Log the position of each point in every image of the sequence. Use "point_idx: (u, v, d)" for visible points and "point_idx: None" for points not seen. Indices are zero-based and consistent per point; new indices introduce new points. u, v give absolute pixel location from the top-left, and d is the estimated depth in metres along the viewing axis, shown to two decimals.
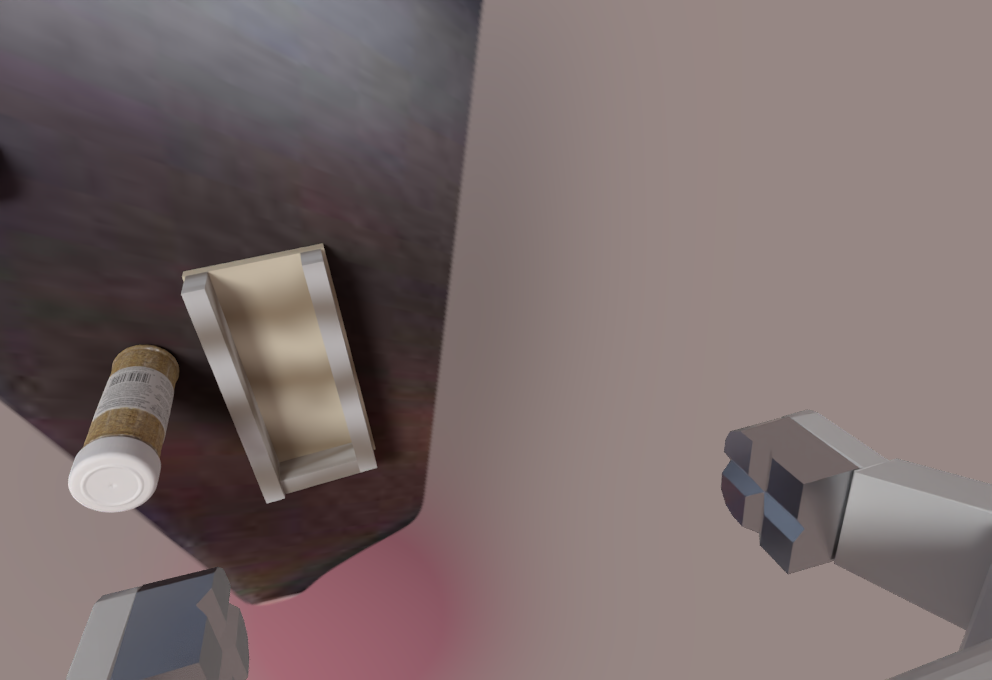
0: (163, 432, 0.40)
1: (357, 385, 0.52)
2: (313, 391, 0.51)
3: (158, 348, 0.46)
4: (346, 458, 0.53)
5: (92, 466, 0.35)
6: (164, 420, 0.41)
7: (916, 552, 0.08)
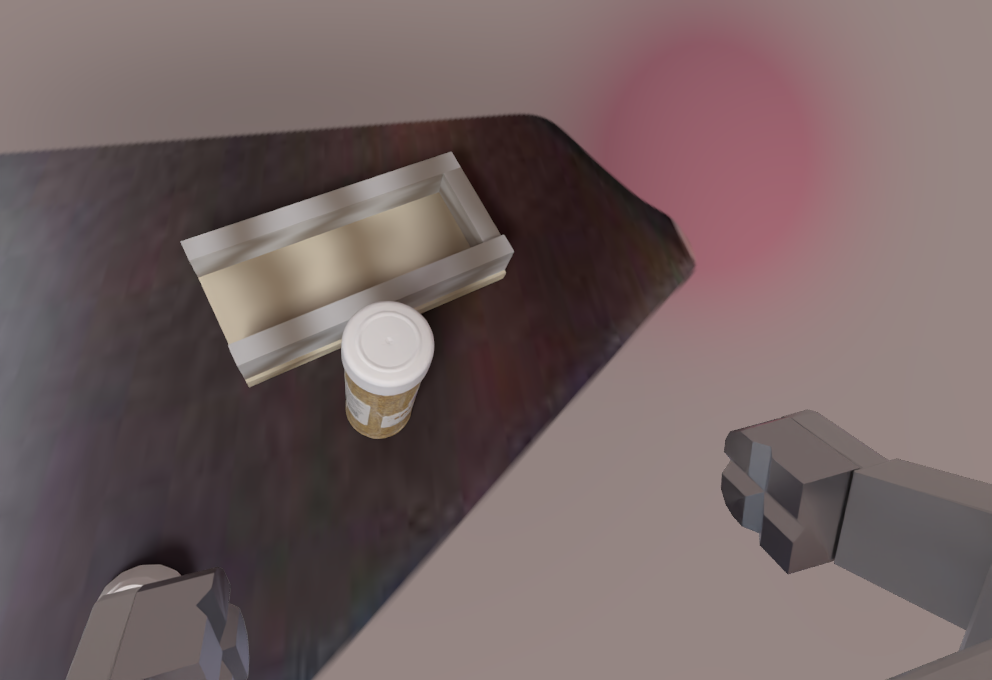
0: None
1: None
2: (375, 240, 0.45)
3: None
4: (447, 186, 0.46)
5: (359, 363, 0.29)
6: None
7: (916, 552, 0.08)
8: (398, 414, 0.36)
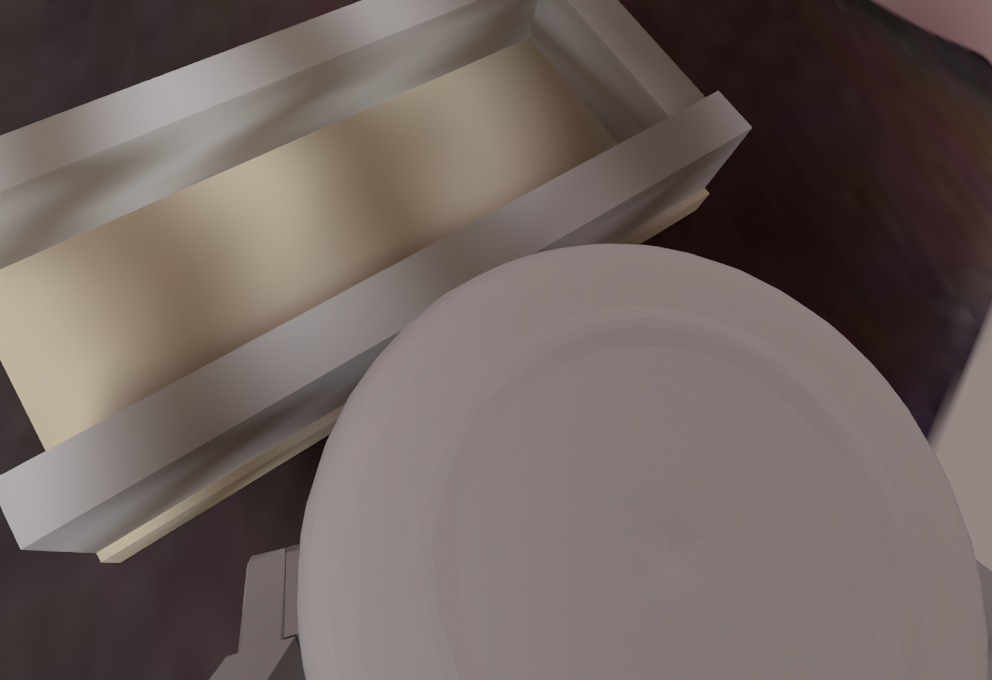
0: None
1: None
2: (405, 151, 0.19)
3: None
4: (555, 7, 0.20)
5: None
6: None
7: None
8: None
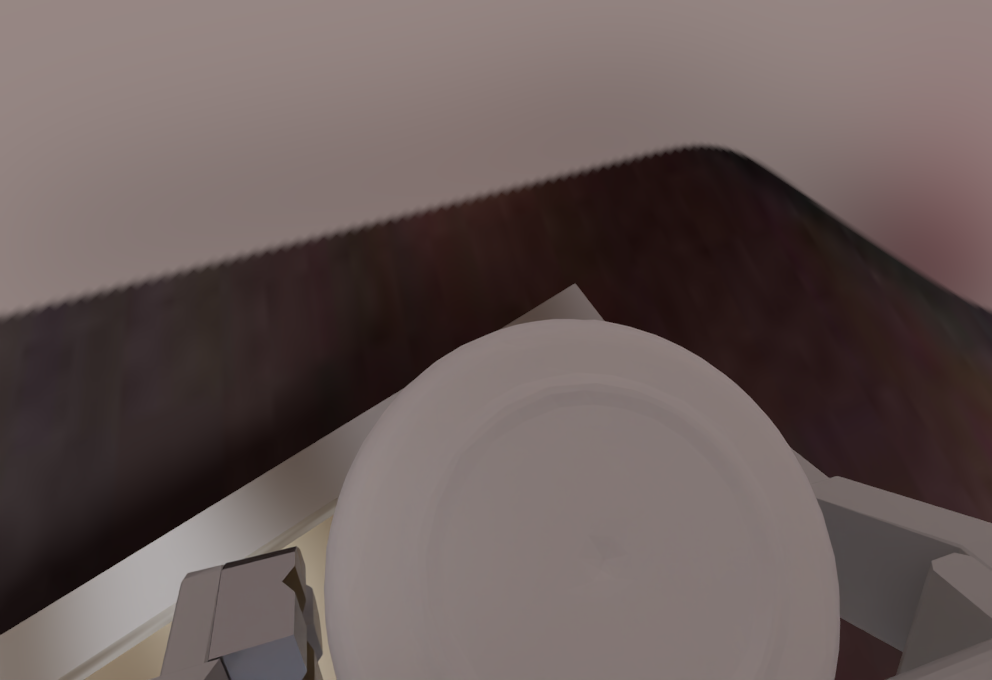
0: None
1: None
2: None
3: None
4: None
5: None
6: None
7: (855, 573, 0.08)
8: None
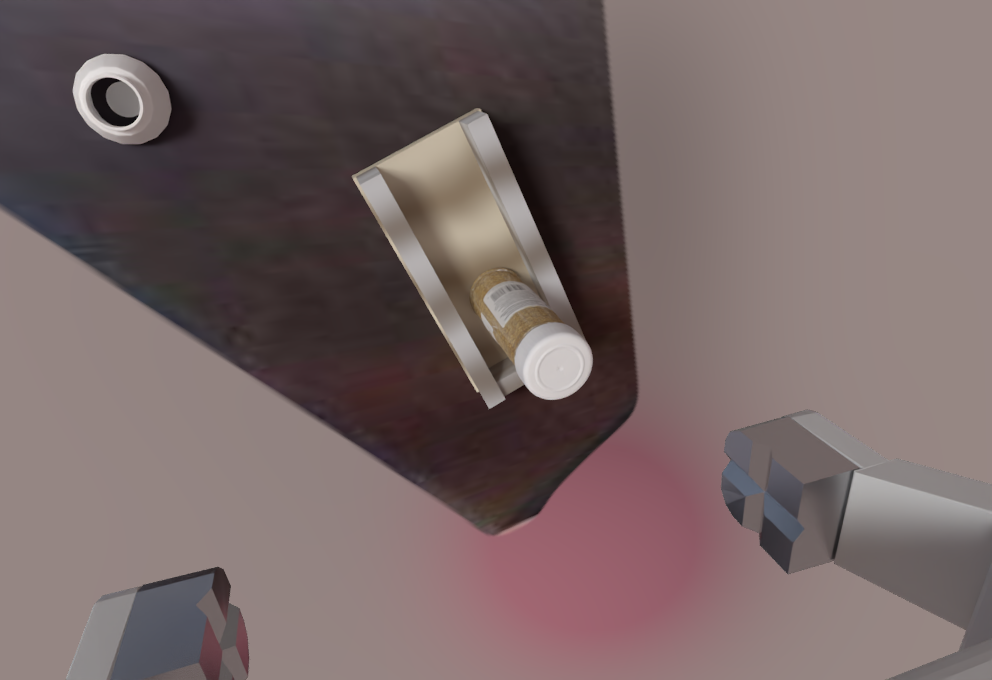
0: None
1: None
2: None
3: (505, 268, 0.47)
4: None
5: (543, 349, 0.36)
6: None
7: (916, 552, 0.09)
8: (493, 337, 0.43)
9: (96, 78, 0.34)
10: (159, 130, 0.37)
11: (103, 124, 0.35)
